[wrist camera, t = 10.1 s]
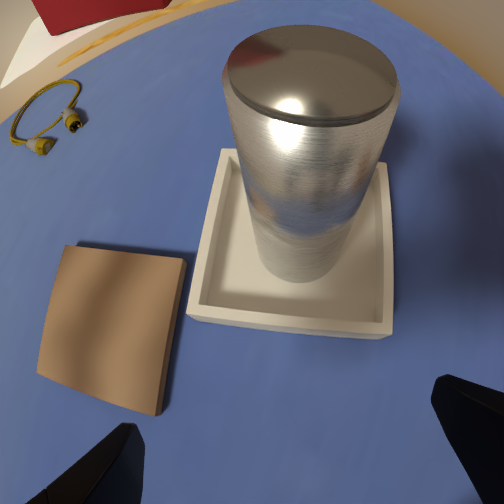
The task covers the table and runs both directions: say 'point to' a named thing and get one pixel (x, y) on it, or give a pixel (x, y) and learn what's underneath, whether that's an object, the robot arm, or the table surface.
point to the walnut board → (112, 325)
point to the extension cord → (68, 116)
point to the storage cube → (89, 11)
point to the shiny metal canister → (307, 138)
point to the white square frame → (286, 293)
